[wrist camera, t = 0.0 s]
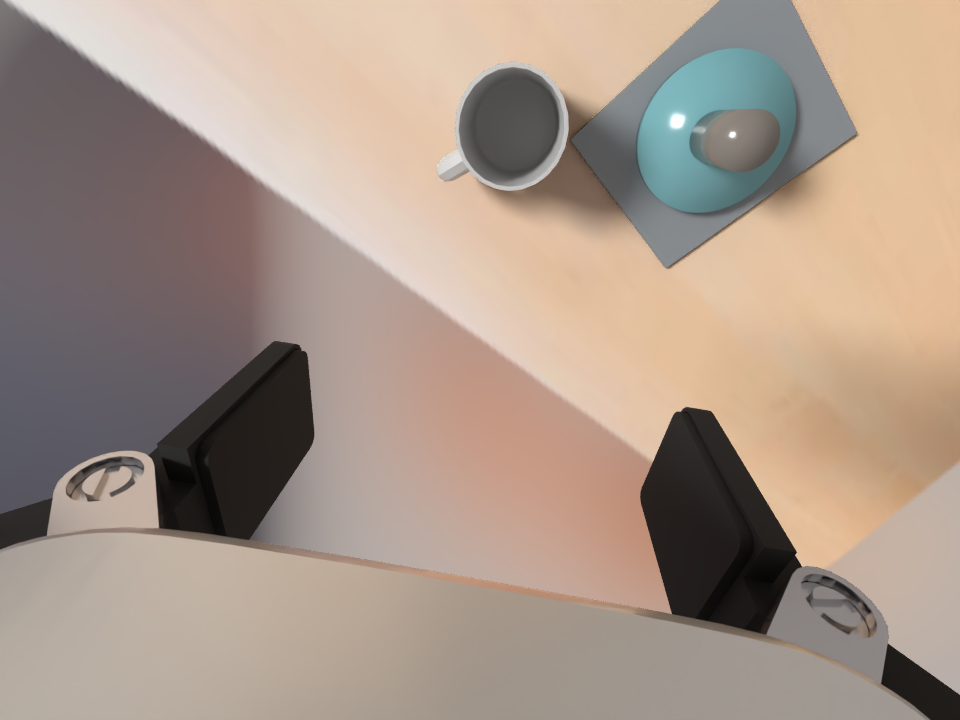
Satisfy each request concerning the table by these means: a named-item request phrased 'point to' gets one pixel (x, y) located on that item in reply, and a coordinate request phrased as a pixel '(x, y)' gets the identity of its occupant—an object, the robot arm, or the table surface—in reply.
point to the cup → (508, 128)
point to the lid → (716, 130)
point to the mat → (728, 24)
